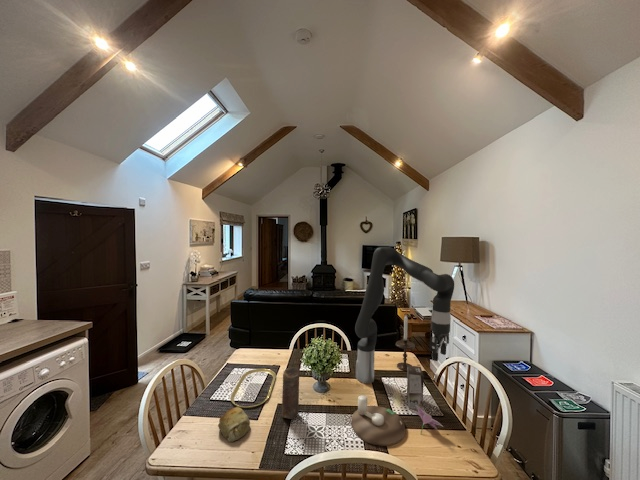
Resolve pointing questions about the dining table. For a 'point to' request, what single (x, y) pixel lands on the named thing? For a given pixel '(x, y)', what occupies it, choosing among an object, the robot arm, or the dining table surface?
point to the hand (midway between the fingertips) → (439, 357)
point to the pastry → (234, 424)
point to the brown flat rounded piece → (379, 427)
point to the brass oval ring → (243, 379)
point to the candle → (290, 393)
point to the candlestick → (404, 346)
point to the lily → (426, 418)
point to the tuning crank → (362, 410)
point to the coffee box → (415, 386)
